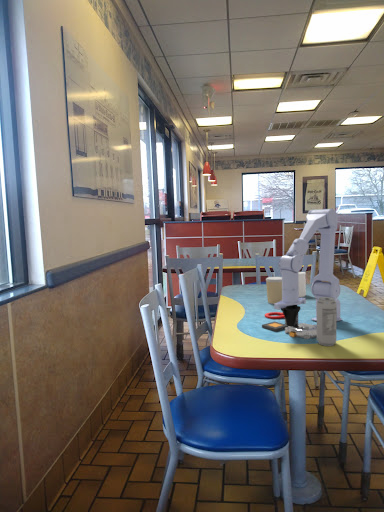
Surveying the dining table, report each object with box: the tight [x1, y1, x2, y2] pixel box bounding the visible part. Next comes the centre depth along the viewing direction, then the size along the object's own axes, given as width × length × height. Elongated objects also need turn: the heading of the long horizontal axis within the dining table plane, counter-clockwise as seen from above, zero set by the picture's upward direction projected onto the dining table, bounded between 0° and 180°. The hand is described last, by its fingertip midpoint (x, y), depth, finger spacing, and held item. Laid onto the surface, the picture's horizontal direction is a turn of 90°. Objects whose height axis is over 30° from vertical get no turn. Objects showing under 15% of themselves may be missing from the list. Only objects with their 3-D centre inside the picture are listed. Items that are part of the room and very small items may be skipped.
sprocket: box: [284, 313, 317, 340], centre depth 132 cm, size 14×14×6 cm
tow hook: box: [264, 311, 285, 320], centre depth 155 cm, size 8×13×9 cm
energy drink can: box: [316, 297, 337, 347], centre depth 120 cm, size 6×6×15 cm
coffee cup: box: [265, 276, 282, 305], centre depth 180 cm, size 9×9×12 cm
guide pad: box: [261, 321, 288, 332], centre depth 140 cm, size 7×7×1 cm
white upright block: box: [298, 271, 307, 298], centre depth 195 cm, size 9×9×12 cm
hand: (290, 325), depth 133 cm, fingers closed
